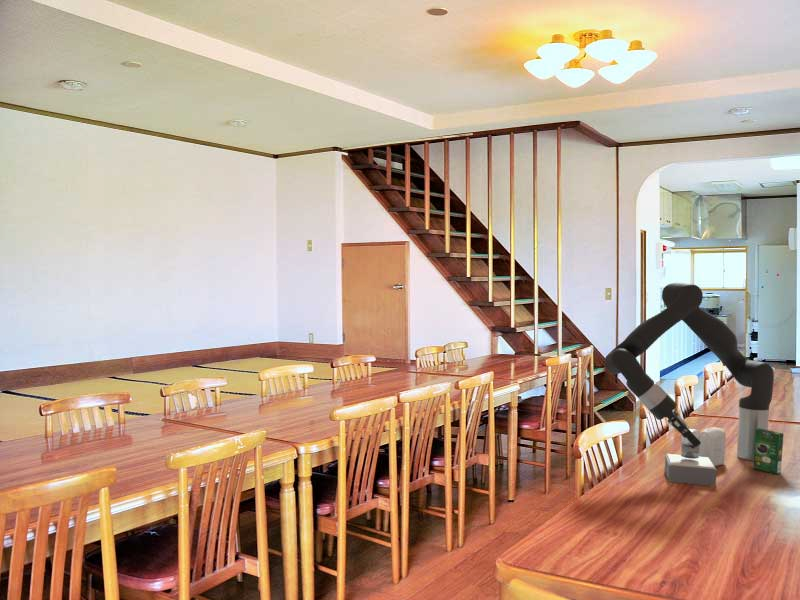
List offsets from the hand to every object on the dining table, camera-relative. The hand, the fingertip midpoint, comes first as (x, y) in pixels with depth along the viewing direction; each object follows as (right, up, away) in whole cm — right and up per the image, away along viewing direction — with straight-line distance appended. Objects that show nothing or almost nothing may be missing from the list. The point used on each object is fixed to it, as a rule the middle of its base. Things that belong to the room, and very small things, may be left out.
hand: (696, 442), depth 213 cm
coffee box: (+27, -12, +11) cm, 31 cm away
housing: (-2, -4, +1) cm, 5 cm away
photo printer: (+12, -11, +17) cm, 23 cm away
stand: (-2, -11, +1) cm, 11 cm away
